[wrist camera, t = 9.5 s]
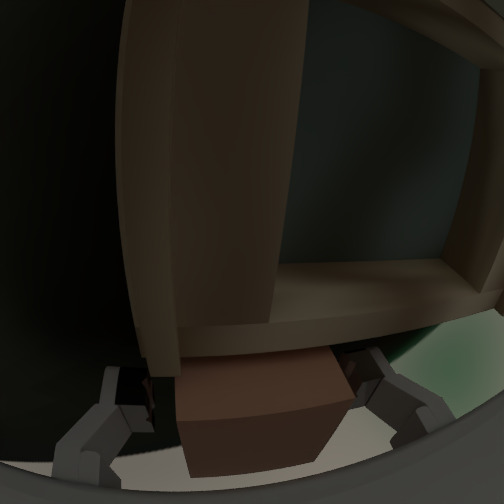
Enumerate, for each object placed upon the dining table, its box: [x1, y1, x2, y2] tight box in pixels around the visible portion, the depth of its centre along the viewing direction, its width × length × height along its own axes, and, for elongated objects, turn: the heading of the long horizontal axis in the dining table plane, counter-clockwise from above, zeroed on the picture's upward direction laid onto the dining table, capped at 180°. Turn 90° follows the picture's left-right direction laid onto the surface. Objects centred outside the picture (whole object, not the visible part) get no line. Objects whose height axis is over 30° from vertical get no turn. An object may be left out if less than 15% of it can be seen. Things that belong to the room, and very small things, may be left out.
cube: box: [175, 345, 356, 478], centre depth 10 cm, size 4×4×5 cm
